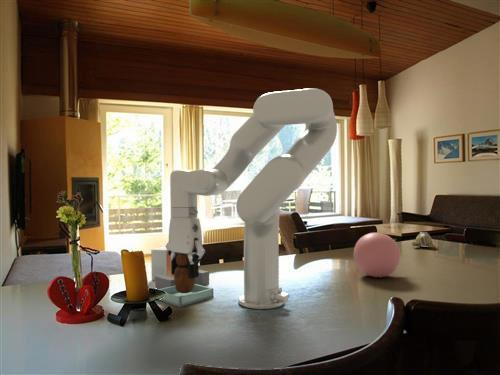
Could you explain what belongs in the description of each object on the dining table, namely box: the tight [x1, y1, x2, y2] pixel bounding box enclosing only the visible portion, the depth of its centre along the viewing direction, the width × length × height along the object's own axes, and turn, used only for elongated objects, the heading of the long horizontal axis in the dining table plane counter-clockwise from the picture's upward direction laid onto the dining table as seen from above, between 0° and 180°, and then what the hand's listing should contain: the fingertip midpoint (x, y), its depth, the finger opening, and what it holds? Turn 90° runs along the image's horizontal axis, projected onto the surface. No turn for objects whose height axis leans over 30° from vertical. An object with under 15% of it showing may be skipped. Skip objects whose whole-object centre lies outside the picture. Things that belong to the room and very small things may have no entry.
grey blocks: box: [154, 269, 210, 289], centre depth 127 cm, size 8×15×4 cm, turn 139°
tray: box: [159, 284, 214, 308], centre depth 114 cm, size 11×12×2 cm
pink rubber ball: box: [353, 232, 401, 278], centre depth 139 cm, size 15×20×15 cm
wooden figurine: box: [174, 253, 195, 293], centre depth 113 cm, size 7×6×15 cm
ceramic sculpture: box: [411, 230, 436, 248], centre depth 200 cm, size 11×9×15 cm
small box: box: [150, 245, 174, 281], centre depth 138 cm, size 8×6×10 cm
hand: (184, 275), depth 114 cm, fingers closed on wooden figurine, 6 cm apart
